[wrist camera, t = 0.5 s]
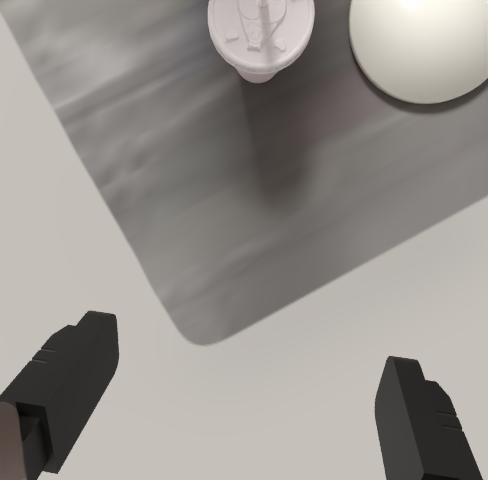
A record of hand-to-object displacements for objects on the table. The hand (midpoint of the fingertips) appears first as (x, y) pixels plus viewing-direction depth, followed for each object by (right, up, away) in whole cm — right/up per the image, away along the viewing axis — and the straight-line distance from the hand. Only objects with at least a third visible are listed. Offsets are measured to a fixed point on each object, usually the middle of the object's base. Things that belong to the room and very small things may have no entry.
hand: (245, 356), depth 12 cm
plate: (+15, +21, +21) cm, 33 cm away
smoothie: (+1, +18, +22) cm, 28 cm away
